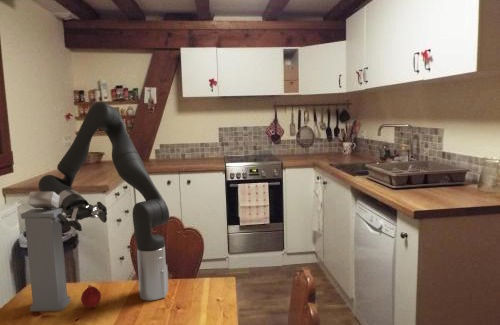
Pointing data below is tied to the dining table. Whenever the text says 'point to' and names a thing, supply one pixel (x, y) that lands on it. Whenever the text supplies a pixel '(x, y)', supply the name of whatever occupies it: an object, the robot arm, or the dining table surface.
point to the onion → (90, 297)
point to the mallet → (44, 200)
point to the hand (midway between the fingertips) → (93, 224)
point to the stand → (46, 259)
